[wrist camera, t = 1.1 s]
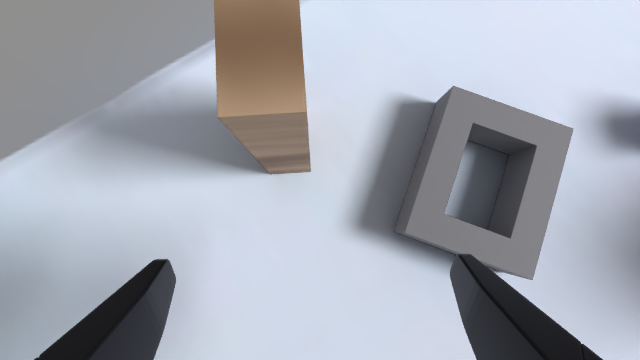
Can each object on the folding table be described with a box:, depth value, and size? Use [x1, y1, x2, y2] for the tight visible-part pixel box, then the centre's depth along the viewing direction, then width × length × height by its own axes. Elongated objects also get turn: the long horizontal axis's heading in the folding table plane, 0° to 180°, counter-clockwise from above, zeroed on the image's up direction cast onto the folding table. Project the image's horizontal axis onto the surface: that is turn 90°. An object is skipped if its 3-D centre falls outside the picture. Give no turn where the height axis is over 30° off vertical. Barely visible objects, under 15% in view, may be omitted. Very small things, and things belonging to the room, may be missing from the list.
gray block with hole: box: [393, 86, 573, 280], centre depth 22 cm, size 10×8×3 cm
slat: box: [214, 0, 311, 174], centre depth 17 cm, size 5×3×13 cm, turn 4°
